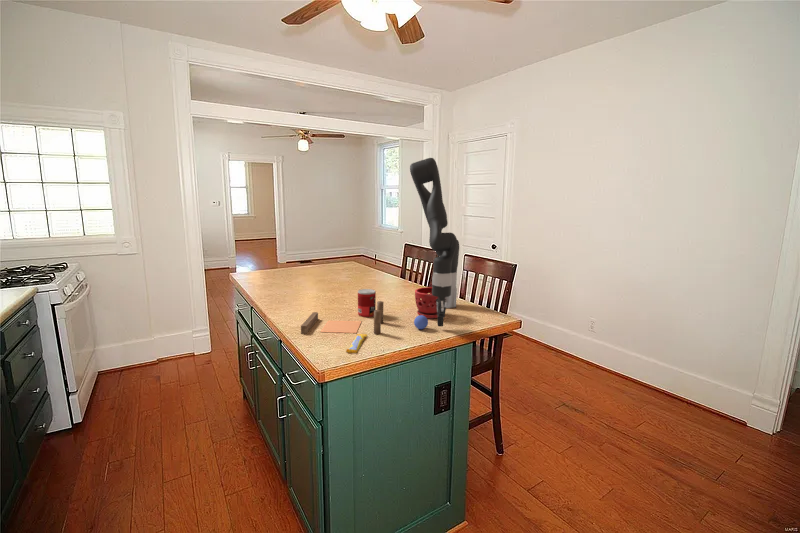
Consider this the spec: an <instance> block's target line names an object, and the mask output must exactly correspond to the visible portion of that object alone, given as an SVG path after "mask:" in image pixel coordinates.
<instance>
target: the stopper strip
mask: <svg viewBox="0 0 800 533" xmlns="http://www.w3.org/2000/svg"><path fill="white" fill-rule="evenodd" d="M318 320H319V312H318V311H316V312H315V311H313V312H312V313H311V314H310V315H309V316H308V317H307V318H306V320H305V321H304V322H303V323H302V324H301V325H300V334H302V335H304V334H305V335H306V334H307V333H308V332H309V331H310V330H311V328H312V327H313V326H314V325H315V324H316V322H317V321H318Z"/></svg>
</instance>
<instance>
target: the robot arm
mask: <svg viewBox="0 0 800 533" xmlns="http://www.w3.org/2000/svg"><path fill="white" fill-rule="evenodd" d="M409 171H410V175H411V178H412V181H413V184H414V185H415V188H416V191H417V193H418V196H419V199H420V202H421V206H422V209H423V213H424V216H425V219H426V222H427V224H428V227H429V242H428V243H429V246H430V248H431V249H432V250H433V251H434V252H435V254H436V255H437V257H435V258H433V266H432V267H433V268H432V269H433V270H432V279H431V280H432V281H431V284H432V286H431V287H432V295H433V296H436V297H438V299H436V310H437V317H438V318H437V322H436V323H437V326H438V327H443V326H444V320H445V319H444V318H445V316H446V312H447V311H446V310H447V309H453V308H456V307H457V295H458V292H457V290H458V288H457V280H458V278H457V275H458V265H459V255H460V241H459V240H458V239H457V236H456V235H455V233H453V232H442V231H443V229H445V228H447V226H448V224H449V222H448V214H447V210H446V207H445V204H444V201H443V192H442V184H441V179H440V177H441V176H440V172H439V167H438V164H437V162H436V159H435V158H434V157H429V158H425V159H421V160H419V161H415V162H412V163H411V164H410V165H409ZM430 182H432V189H431V192H430V191H429V190H428V189H427V187H426V186H425V184H427V183H430Z"/></svg>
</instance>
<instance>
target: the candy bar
mask: <svg viewBox="0 0 800 533" xmlns="http://www.w3.org/2000/svg"><path fill="white" fill-rule="evenodd" d="M366 337H368V334H367V333H356V335H355V337H354V339H353V341H352V342H351V344H350V346H349V347H348V348H346V350H345V352H346V353H347V352H348V353H347V354H358V351H359V350H358V349H360V348H361V346H362V345H361V344H363V343H364V341H365V340H366Z"/></svg>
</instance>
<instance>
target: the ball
mask: <svg viewBox="0 0 800 533" xmlns="http://www.w3.org/2000/svg"><path fill="white" fill-rule="evenodd" d="M413 324H414V326H415V328H416V329H418V330H424V329H426V328H427V327H428V324H429V320H428V318H426V317H425V316H423V315H417V316H416V317H415V318H414V320H413Z"/></svg>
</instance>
